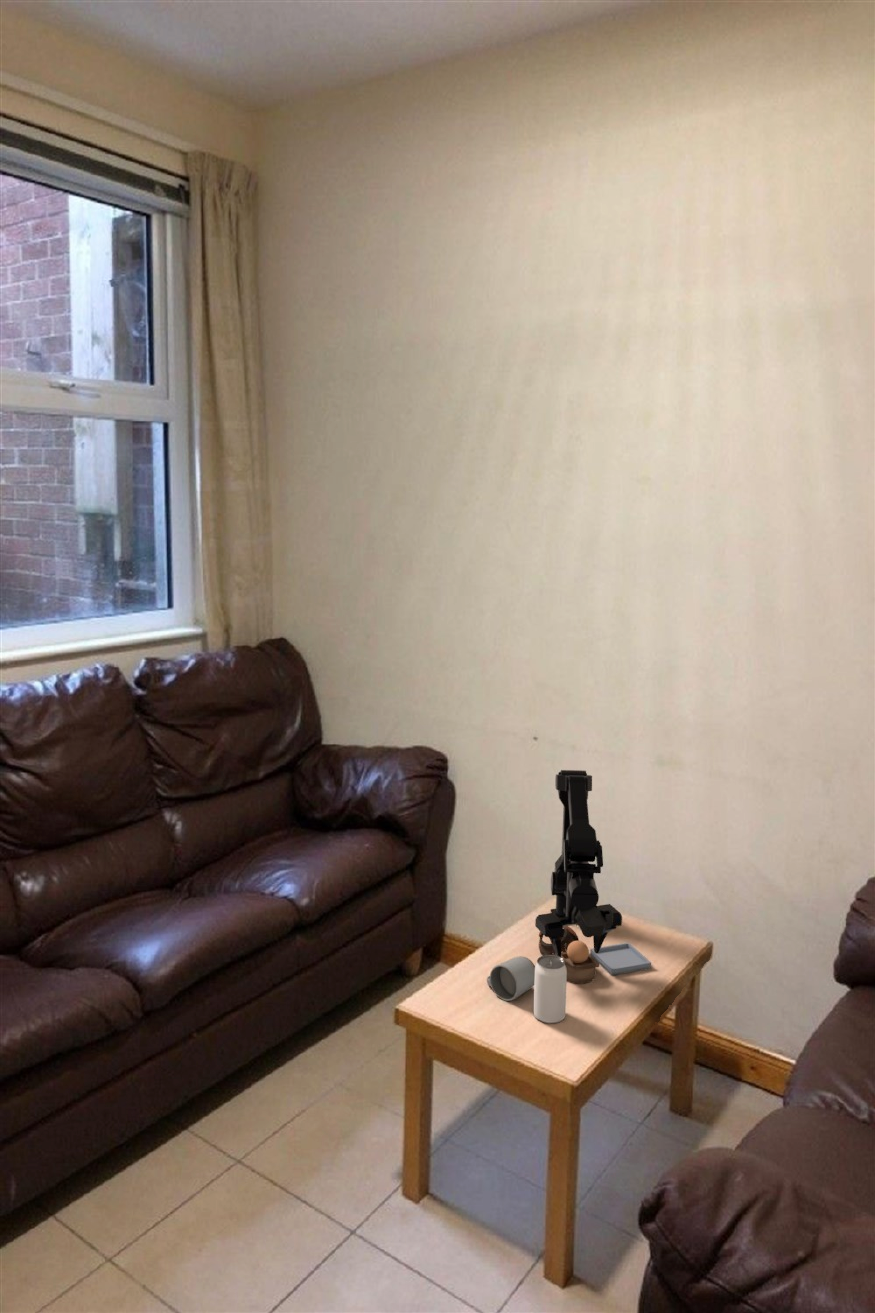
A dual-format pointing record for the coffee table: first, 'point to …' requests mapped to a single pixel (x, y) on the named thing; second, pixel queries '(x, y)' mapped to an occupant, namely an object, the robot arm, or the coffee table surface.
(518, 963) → the ceramic mug
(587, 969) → the open wooden box
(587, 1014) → the coffee table surface
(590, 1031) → the coffee table surface
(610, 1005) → the coffee table surface
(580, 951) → the ball
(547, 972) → the can
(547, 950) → the pottery mug
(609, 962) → the tray
